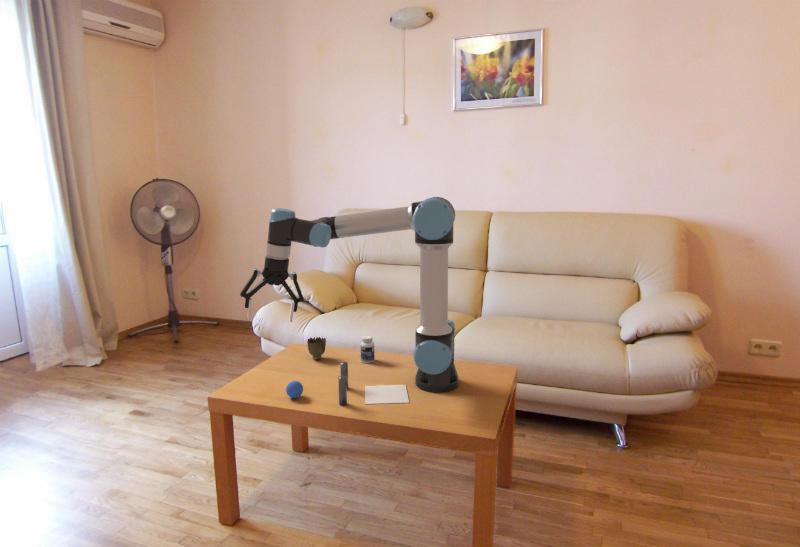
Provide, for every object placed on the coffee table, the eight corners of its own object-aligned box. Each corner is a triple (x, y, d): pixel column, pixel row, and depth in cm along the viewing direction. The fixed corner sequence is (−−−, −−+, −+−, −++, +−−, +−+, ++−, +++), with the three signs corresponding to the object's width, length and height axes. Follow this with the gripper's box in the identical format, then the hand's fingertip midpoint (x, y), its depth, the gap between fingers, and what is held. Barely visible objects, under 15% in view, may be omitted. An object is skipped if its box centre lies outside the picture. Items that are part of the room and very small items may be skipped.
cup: (324, 362, 198) (324, 342, 197) (306, 362, 198) (305, 342, 197) (327, 355, 206) (327, 336, 204) (309, 355, 206) (309, 336, 204)
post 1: (348, 386, 175) (347, 361, 174) (348, 389, 173) (347, 364, 171) (341, 386, 175) (340, 361, 174) (340, 389, 173) (340, 364, 171)
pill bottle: (359, 362, 197) (358, 338, 196) (363, 358, 203) (362, 334, 201) (372, 364, 196) (372, 339, 194) (376, 359, 201) (375, 335, 200)
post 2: (347, 402, 163) (346, 375, 162) (346, 405, 161) (346, 378, 159) (339, 402, 163) (338, 375, 161) (338, 405, 161) (338, 378, 159)
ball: (304, 393, 170) (303, 377, 169) (302, 400, 164) (301, 384, 163) (287, 393, 170) (286, 378, 168) (285, 401, 164) (284, 385, 163)
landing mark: (405, 385, 176) (405, 384, 176) (409, 402, 163) (409, 402, 163) (365, 386, 175) (365, 385, 175) (365, 404, 162) (365, 403, 162)
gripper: (314, 258, 171) (306, 317, 175) (237, 249, 163) (230, 312, 168) (317, 263, 164) (308, 325, 169) (236, 255, 156) (229, 320, 161)
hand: (269, 319), depth 168 cm, fingers open, 13 cm apart
